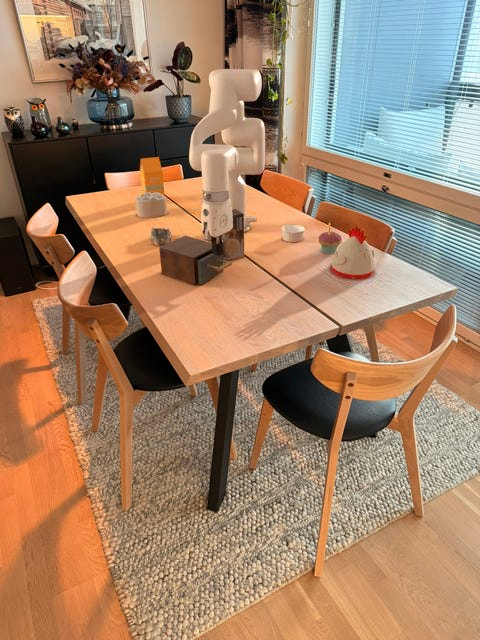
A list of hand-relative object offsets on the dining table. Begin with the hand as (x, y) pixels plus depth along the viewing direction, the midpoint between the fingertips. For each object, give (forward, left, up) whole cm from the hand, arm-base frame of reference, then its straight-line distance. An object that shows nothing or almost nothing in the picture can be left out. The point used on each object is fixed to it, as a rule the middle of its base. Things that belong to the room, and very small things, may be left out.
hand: (217, 254), depth 142 cm
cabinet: (+6, -10, -10) cm, 15 cm away
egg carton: (+7, -42, -10) cm, 44 cm away
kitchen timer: (-44, +11, -10) cm, 47 cm away
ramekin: (-40, -22, -10) cm, 47 cm away
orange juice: (-4, -93, -10) cm, 94 cm away
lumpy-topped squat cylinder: (+2, -75, -10) cm, 76 cm away
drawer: (+3, -6, -9) cm, 11 cm away
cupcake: (-46, -6, -10) cm, 48 cm away
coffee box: (-11, -17, -10) cm, 23 cm away
